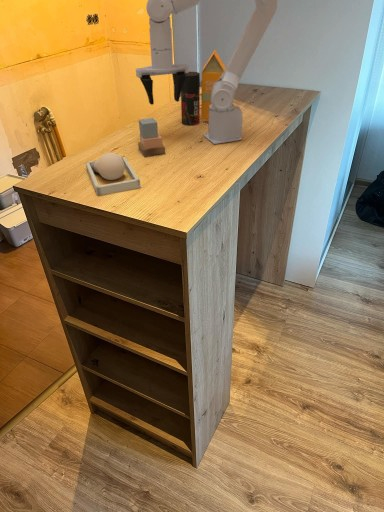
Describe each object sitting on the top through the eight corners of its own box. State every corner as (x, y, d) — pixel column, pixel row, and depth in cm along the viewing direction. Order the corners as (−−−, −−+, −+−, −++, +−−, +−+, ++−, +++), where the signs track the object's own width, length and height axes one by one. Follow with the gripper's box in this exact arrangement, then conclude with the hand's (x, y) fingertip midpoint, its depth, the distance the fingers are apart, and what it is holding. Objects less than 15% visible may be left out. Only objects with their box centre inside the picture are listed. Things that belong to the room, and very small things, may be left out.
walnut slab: (158, 147, 108) (158, 139, 106) (165, 155, 104) (164, 146, 102) (138, 150, 106) (138, 142, 105) (144, 158, 102) (143, 150, 100)
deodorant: (187, 118, 127) (186, 70, 118) (202, 121, 125) (203, 72, 116) (178, 123, 123) (176, 74, 114) (193, 126, 121) (193, 76, 112)
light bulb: (79, 154, 92) (105, 153, 84) (102, 151, 96) (128, 150, 89) (84, 181, 94) (109, 182, 87) (106, 177, 98) (132, 178, 91)
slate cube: (154, 132, 104) (152, 117, 101) (158, 137, 101) (157, 122, 98) (140, 134, 103) (138, 119, 100) (143, 139, 100) (142, 124, 97)
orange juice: (224, 112, 133) (227, 48, 121) (223, 119, 126) (226, 53, 114) (202, 111, 134) (203, 48, 121) (200, 119, 127) (201, 53, 114)
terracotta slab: (157, 140, 106) (156, 131, 104) (162, 146, 102) (162, 137, 101) (140, 142, 104) (139, 134, 103) (145, 149, 101) (144, 140, 99)
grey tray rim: (125, 163, 99) (124, 156, 98) (140, 187, 88) (139, 180, 86) (86, 169, 96) (85, 162, 95) (97, 195, 85) (96, 187, 83)
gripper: (181, 44, 104) (182, 95, 112) (130, 48, 99) (136, 101, 108) (191, 48, 98) (191, 102, 107) (137, 52, 94) (142, 108, 102)
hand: (164, 102), depth 107 cm, fingers open, 7 cm apart
